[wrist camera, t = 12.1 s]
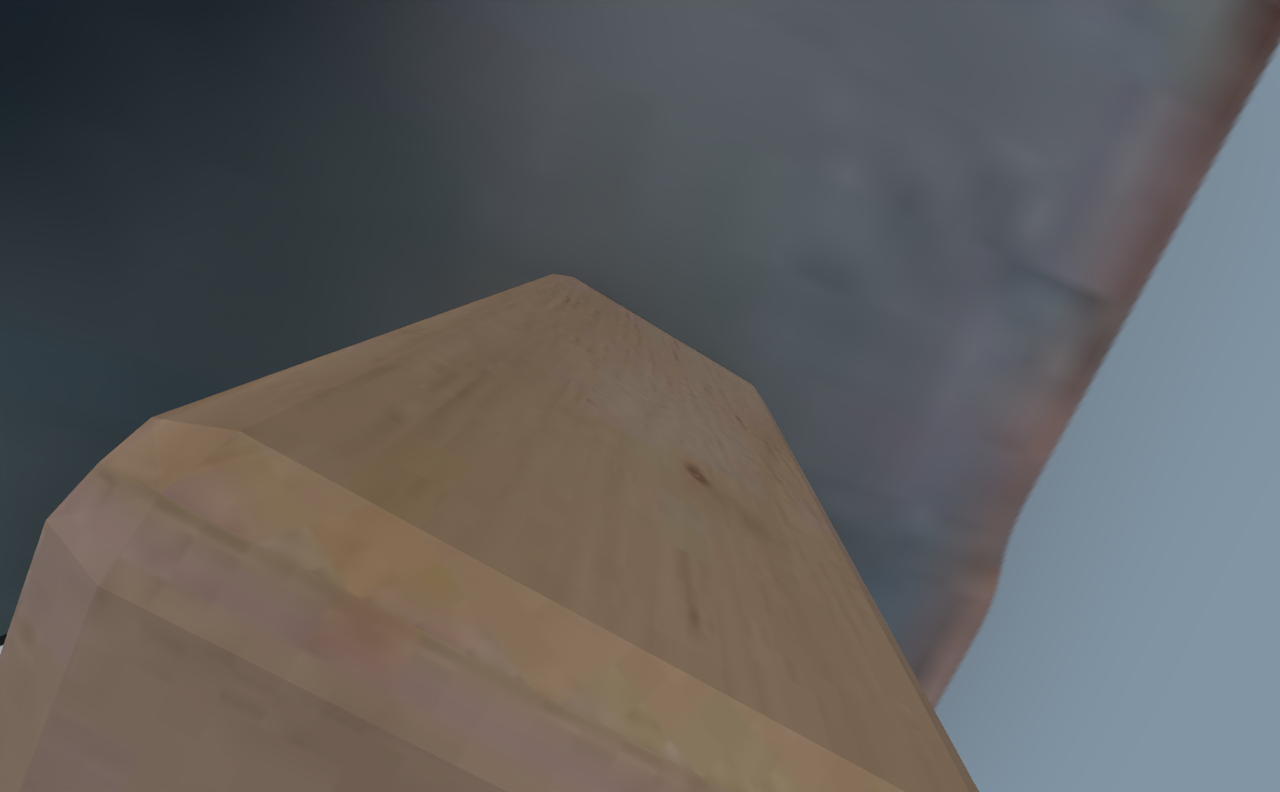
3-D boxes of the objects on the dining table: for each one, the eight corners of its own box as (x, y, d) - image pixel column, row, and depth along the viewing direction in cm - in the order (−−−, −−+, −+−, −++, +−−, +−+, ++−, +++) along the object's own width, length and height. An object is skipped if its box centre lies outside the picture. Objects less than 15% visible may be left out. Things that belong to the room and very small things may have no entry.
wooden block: (769, 391, 24) (1155, 1011, 5) (643, 575, 27) (572, 1461, 7) (554, 261, 23) (-1, 404, 4) (444, 465, 26) (-222, 1154, 7)
